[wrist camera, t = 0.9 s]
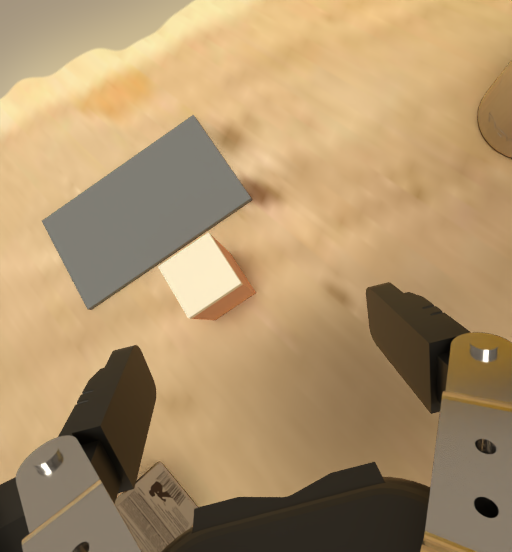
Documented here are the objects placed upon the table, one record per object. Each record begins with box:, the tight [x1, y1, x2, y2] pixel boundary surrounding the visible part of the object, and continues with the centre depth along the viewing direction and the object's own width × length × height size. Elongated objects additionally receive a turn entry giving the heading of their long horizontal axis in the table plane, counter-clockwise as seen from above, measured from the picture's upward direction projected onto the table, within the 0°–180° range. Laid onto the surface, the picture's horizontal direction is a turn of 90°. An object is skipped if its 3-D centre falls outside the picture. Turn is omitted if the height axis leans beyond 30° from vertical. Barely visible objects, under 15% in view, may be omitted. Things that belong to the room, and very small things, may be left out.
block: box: [158, 232, 256, 320], centre depth 31 cm, size 5×5×8 cm
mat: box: [42, 115, 252, 310], centre depth 37 cm, size 21×12×1 cm, turn 123°
